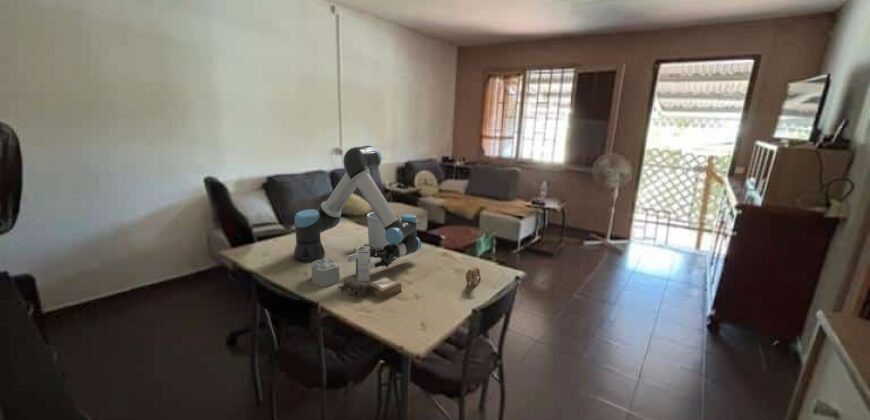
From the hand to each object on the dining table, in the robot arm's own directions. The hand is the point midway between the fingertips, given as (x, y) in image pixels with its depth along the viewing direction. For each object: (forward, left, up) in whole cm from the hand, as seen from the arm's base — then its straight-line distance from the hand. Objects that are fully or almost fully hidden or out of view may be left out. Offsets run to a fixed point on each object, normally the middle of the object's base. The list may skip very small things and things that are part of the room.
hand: (357, 262), depth 165 cm
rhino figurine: (+9, -9, -9) cm, 15 cm away
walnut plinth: (+16, +1, -8) cm, 18 cm away
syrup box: (0, +3, -9) cm, 9 cm away
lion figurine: (+38, +32, -9) cm, 51 cm away
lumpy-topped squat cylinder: (-12, -9, -9) cm, 17 cm away
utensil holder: (-30, +39, -9) cm, 50 cm away
